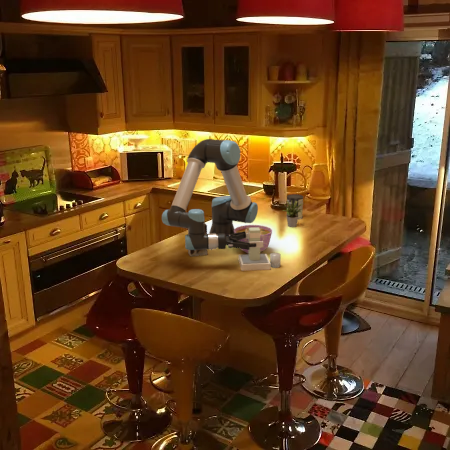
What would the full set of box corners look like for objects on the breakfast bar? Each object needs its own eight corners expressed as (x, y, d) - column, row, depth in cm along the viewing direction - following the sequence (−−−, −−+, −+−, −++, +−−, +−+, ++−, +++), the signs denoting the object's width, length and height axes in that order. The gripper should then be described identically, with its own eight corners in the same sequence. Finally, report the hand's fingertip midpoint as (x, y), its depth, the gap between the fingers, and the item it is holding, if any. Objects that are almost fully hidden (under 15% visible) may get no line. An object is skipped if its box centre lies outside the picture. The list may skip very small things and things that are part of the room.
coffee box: (190, 256, 275) (189, 226, 270) (188, 252, 281) (187, 223, 276) (207, 255, 277) (207, 225, 273) (204, 251, 283) (204, 221, 279)
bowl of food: (262, 243, 295) (262, 223, 291) (278, 254, 277) (278, 233, 273) (228, 248, 288) (228, 227, 284) (242, 259, 270) (242, 238, 267)
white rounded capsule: (269, 264, 264) (269, 252, 262) (279, 264, 264) (279, 252, 262) (270, 268, 259) (271, 256, 257) (281, 267, 259) (281, 256, 257)
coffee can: (290, 220, 338) (291, 198, 334) (283, 216, 347) (284, 195, 343) (305, 218, 341) (306, 197, 337) (298, 214, 350) (299, 193, 346)
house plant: (304, 230, 317) (305, 203, 312) (280, 229, 319) (281, 203, 314) (304, 223, 330) (305, 198, 326) (282, 222, 332) (282, 197, 328)
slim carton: (248, 256, 264) (248, 227, 260) (258, 256, 265) (258, 227, 260) (249, 260, 259) (249, 230, 255) (260, 259, 260) (260, 230, 256)
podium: (238, 260, 269) (238, 254, 268) (266, 259, 270) (266, 253, 269) (241, 270, 256) (241, 263, 255) (270, 269, 257) (270, 262, 256)
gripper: (215, 240, 271) (257, 239, 273) (219, 257, 247) (264, 255, 249) (215, 226, 269) (257, 225, 270) (218, 242, 245) (265, 240, 247)
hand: (261, 239), depth 260 cm, fingers open, 13 cm apart
